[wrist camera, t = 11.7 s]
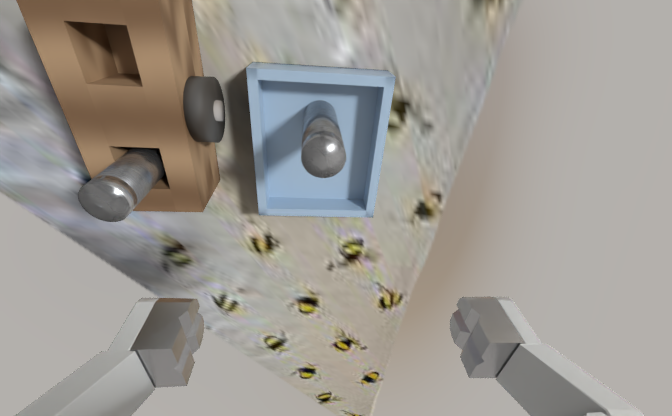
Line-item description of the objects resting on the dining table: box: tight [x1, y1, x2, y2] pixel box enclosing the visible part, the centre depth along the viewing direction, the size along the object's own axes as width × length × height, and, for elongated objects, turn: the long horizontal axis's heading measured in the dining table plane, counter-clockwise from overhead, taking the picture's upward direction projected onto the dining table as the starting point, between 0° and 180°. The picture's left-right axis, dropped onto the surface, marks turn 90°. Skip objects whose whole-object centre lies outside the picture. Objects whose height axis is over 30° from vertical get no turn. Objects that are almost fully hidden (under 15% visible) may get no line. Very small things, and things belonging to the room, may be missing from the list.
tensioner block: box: [16, 0, 225, 212], centre depth 24 cm, size 16×10×6 cm, turn 176°
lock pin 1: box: [78, 147, 166, 222], centre depth 23 cm, size 3×3×9 cm
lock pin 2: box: [301, 100, 346, 178], centre depth 24 cm, size 3×3×9 cm
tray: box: [246, 62, 396, 217], centre depth 29 cm, size 14×12×3 cm
